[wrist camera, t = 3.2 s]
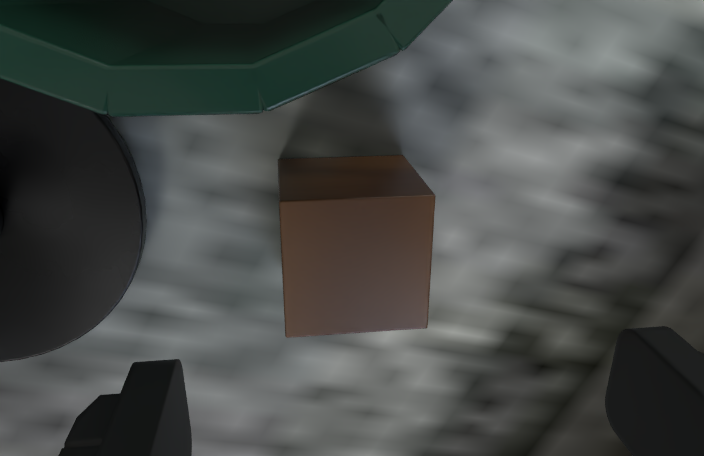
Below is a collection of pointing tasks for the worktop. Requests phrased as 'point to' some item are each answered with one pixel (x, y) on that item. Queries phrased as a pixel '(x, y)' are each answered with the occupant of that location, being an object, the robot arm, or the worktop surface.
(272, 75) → the tin
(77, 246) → the lid
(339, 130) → the worktop surface
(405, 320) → the block
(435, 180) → the worktop surface
